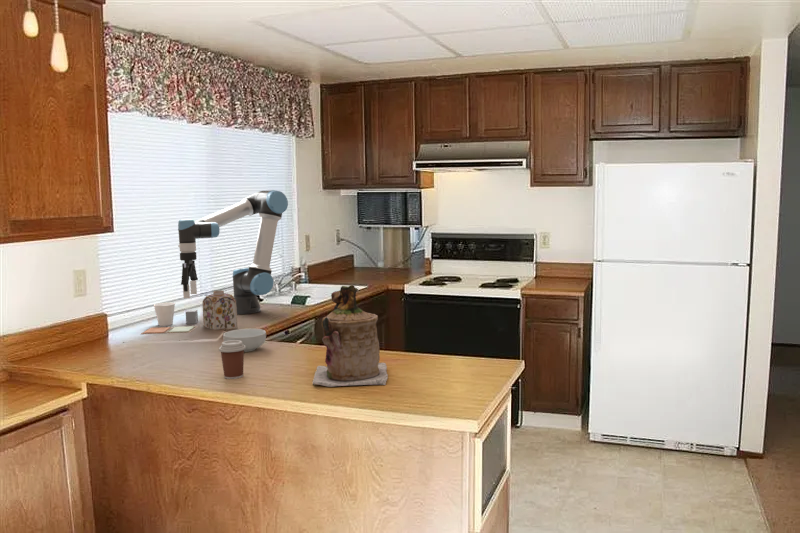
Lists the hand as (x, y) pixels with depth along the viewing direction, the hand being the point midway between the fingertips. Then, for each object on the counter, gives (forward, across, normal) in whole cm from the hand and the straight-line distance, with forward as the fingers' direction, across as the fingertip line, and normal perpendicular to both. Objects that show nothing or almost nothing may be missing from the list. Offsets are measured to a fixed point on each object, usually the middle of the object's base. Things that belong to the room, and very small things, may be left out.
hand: (190, 296), depth 335 cm
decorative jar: (+14, +12, +16) cm, 25 cm away
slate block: (+14, 0, 0) cm, 14 cm away
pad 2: (+13, +17, 0) cm, 21 cm away
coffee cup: (+14, +98, +38) cm, 106 cm away
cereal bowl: (+14, +57, +35) cm, 68 cm away
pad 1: (+13, +17, -11) cm, 24 cm away
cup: (+14, +2, -12) cm, 19 cm away
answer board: (+14, +17, -6) cm, 23 cm away
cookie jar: (+14, +104, +78) cm, 131 cm away
